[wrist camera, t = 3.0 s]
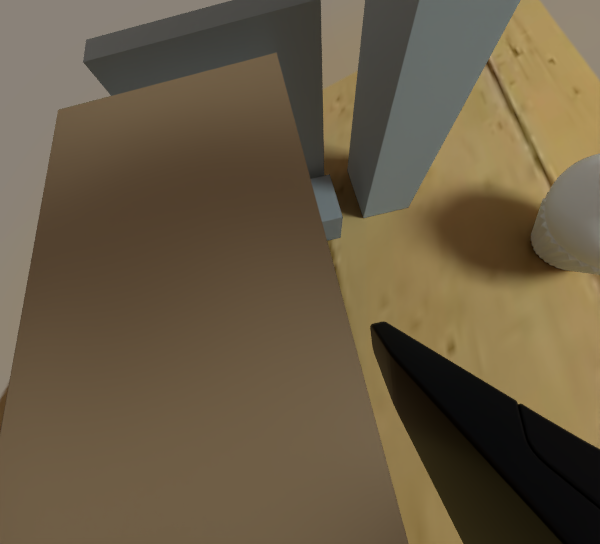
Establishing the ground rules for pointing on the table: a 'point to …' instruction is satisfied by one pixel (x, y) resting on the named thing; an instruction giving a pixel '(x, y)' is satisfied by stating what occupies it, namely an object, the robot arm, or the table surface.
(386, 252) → the table surface
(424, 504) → the table surface
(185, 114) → the brown wooden block
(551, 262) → the muffin
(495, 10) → the grey gallows bracket
